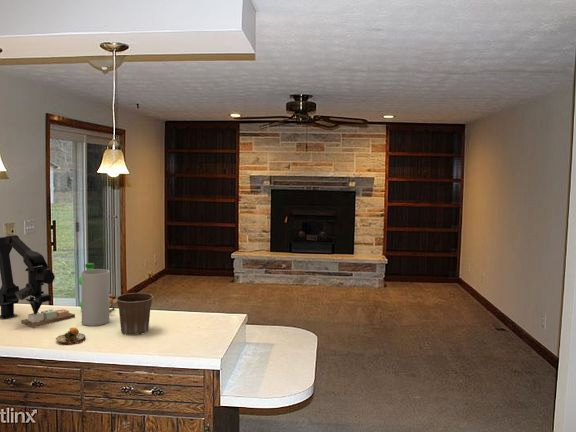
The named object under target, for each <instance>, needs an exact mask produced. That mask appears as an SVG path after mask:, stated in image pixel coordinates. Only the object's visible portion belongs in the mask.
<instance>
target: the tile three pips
mask: <svg viewBox="0 0 576 432" xmlns="http://www.w3.org/2000/svg"><path fill="white" fill-rule="evenodd" d="M55 311H56V316H58V317H61V316H65V315H69V313H70V310H68V309H63V308H62V309H56V310H55Z"/></svg>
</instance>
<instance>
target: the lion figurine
mask: <svg viewBox="0 0 576 432" xmlns="http://www.w3.org/2000/svg"><path fill="white" fill-rule="evenodd" d="M109 309H112V310H115V303H114V300H113V298H111V297H109Z"/></svg>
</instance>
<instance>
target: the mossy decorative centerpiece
mask: <svg viewBox="0 0 576 432" xmlns="http://www.w3.org/2000/svg"><path fill="white" fill-rule="evenodd" d="M77 326H78V324H77V325H76V327H70V328H69V330H68V331H67V332H65V333H63V334H61V335H58V336H57V337H55V340H56V341H57V342H58V343H61V344H62V345H63V346H69V344H71V345H72V346H73V345H74V346H75V345H77V344H80V343H84V342H85V341H86V335H85V334H84V333H81V332H79V329H78V328H77ZM83 341H84V342H83Z"/></svg>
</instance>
